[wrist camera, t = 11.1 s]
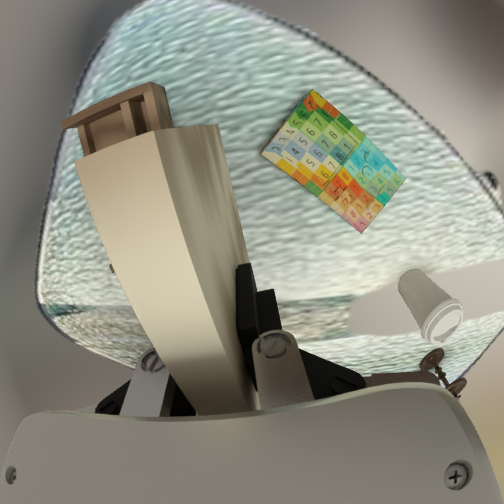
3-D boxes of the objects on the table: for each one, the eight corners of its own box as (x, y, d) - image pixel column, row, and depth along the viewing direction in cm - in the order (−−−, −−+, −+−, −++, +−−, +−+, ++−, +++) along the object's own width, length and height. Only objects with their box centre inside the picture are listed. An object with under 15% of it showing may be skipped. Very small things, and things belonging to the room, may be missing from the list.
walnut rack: (202, 234, 44) (196, 255, 38) (126, 252, 44) (112, 272, 38) (164, 87, 33) (150, 81, 27) (84, 119, 34) (61, 121, 27)
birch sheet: (259, 302, 22) (279, 471, 10) (241, 306, 22) (248, 474, 10) (217, 124, 16) (153, 130, 4) (194, 129, 16) (74, 161, 4)
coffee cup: (385, 300, 52) (417, 349, 39) (401, 260, 48) (443, 305, 35) (417, 301, 54) (450, 345, 40) (433, 264, 49) (474, 305, 36)
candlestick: (411, 374, 68) (454, 464, 36) (424, 350, 63) (477, 446, 32) (437, 366, 68) (481, 448, 37) (450, 342, 63) (503, 428, 32)
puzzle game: (363, 236, 41) (261, 155, 34) (352, 224, 45) (258, 151, 39) (408, 180, 37) (314, 88, 30) (394, 173, 41) (305, 91, 35)
